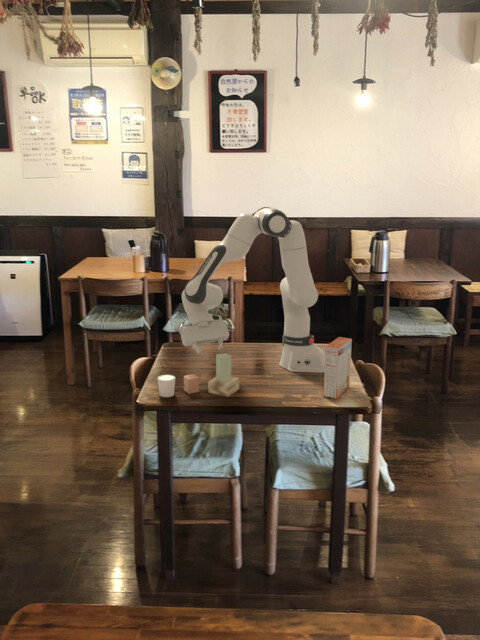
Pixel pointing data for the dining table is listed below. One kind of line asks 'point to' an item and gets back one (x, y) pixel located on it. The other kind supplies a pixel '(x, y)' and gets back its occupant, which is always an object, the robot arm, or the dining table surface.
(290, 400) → the dining table surface
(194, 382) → the terracotta block
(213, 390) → the beech base
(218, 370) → the sage block
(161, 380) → the shot glass
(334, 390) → the cracker box
